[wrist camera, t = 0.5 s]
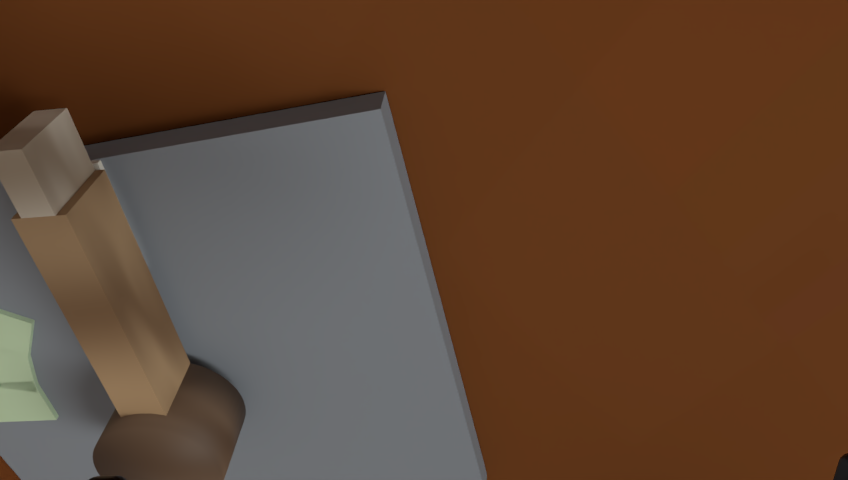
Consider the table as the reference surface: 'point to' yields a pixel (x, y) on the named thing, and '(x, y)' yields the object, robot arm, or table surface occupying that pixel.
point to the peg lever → (116, 311)
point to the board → (261, 302)
